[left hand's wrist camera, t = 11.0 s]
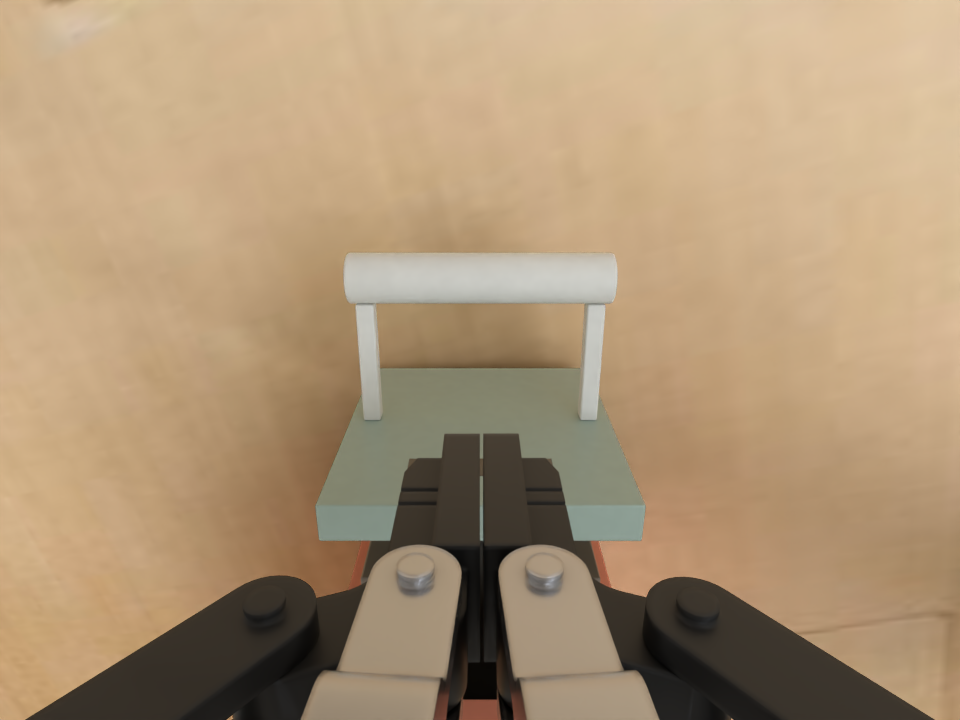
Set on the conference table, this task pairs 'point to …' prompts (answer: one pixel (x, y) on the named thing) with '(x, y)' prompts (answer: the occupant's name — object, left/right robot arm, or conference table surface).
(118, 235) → the conference table surface
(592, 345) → the drawer
